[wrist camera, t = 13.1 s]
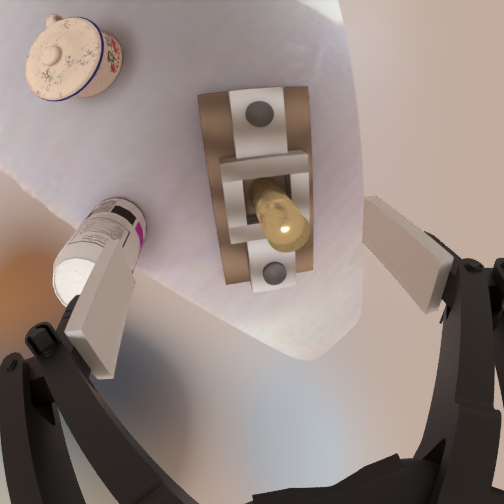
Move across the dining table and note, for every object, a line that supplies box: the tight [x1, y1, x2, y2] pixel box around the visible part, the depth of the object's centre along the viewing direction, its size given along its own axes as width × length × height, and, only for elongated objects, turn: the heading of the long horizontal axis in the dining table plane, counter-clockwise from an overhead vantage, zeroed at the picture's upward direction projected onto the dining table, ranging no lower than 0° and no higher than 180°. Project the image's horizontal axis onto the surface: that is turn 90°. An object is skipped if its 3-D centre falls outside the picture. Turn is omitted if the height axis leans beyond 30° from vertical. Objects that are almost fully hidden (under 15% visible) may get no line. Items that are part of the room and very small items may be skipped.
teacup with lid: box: [26, 14, 122, 101], centre depth 21 cm, size 12×9×12 cm
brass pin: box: [248, 177, 310, 253], centre depth 32 cm, size 4×4×12 cm
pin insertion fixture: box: [198, 86, 313, 293], centre depth 36 cm, size 26×13×6 cm, turn 5°
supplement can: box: [53, 198, 147, 307], centre depth 31 cm, size 8×8×15 cm
